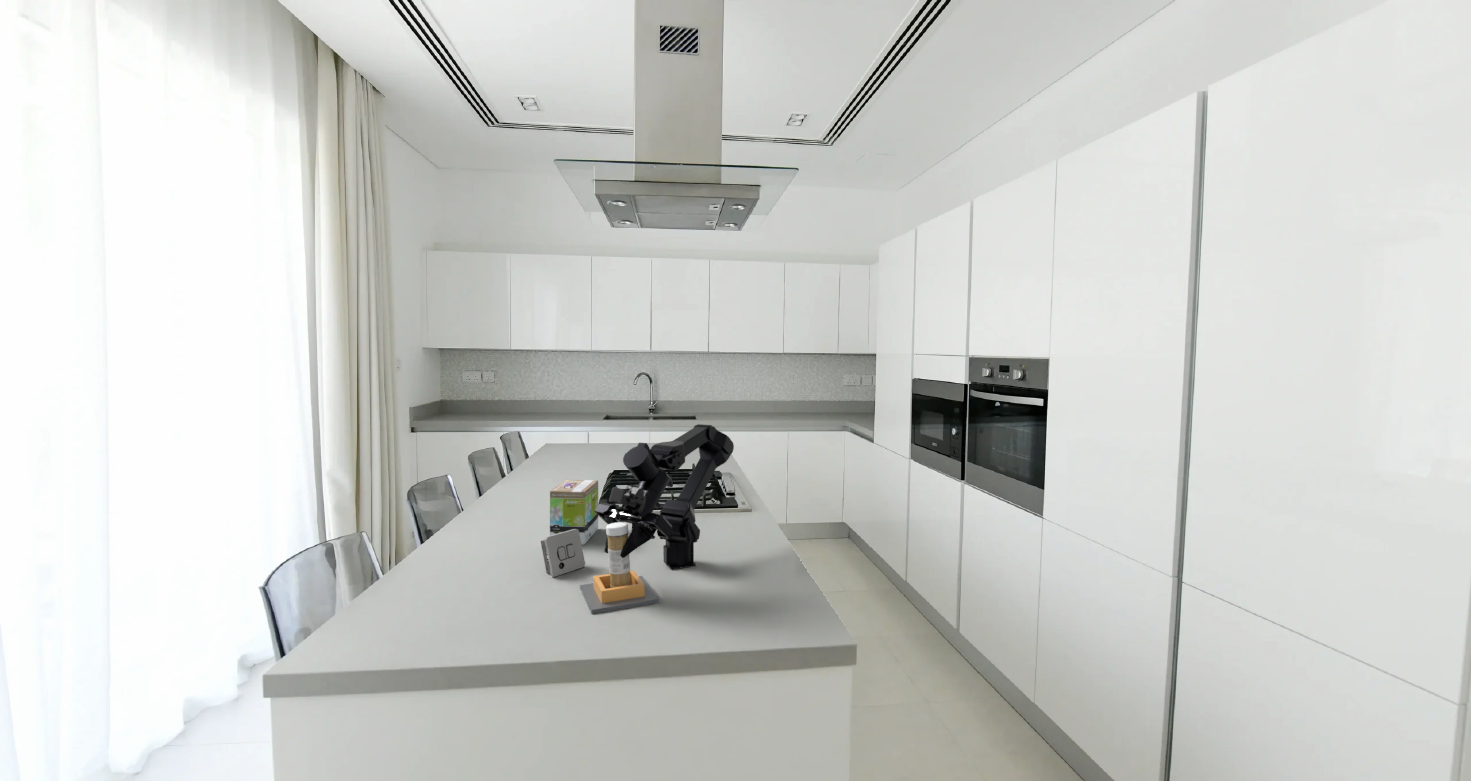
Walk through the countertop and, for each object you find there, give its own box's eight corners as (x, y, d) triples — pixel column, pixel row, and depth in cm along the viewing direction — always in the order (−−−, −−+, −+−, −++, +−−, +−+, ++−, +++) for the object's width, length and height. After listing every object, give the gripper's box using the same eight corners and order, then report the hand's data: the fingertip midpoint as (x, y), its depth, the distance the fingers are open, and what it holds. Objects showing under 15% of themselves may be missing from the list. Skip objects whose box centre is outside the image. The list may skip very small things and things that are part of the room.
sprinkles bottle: (622, 580, 137) (619, 520, 137) (635, 585, 134) (632, 523, 134) (605, 587, 134) (601, 525, 133) (618, 591, 131) (614, 528, 130)
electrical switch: (553, 578, 144) (550, 538, 144) (540, 575, 147) (537, 536, 147) (586, 567, 151) (583, 529, 151) (573, 564, 155) (570, 527, 154)
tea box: (586, 545, 167) (585, 490, 166) (548, 545, 167) (547, 490, 166) (599, 528, 182) (598, 478, 181) (565, 528, 182) (563, 478, 181)
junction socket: (642, 579, 144) (641, 564, 143) (659, 602, 131) (659, 587, 131) (579, 588, 138) (579, 573, 138) (591, 613, 125) (591, 597, 125)
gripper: (599, 467, 141) (562, 527, 133) (662, 477, 130) (626, 544, 122) (625, 494, 148) (591, 553, 140) (687, 506, 137) (653, 570, 129)
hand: (613, 554), depth 133 cm, fingers closed on sprinkles bottle, 4 cm apart
